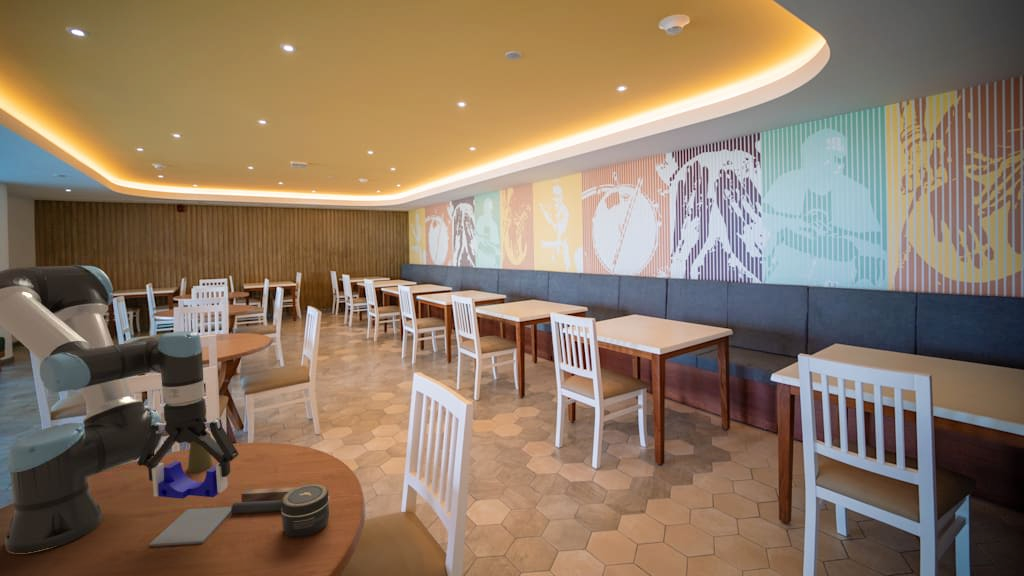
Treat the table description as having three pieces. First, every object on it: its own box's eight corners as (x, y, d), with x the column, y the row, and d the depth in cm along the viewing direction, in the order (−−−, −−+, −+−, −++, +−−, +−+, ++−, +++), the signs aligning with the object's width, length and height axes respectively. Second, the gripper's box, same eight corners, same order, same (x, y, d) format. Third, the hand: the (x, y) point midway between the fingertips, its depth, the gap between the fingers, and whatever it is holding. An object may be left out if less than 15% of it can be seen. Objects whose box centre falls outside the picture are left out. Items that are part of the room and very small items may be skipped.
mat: (149, 546, 95) (148, 544, 95) (187, 511, 108) (187, 509, 108) (202, 543, 96) (202, 541, 96) (235, 508, 109) (234, 506, 109)
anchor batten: (241, 503, 111) (241, 493, 111) (245, 499, 113) (245, 489, 113) (299, 500, 112) (298, 490, 112) (302, 496, 114) (301, 486, 114)
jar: (285, 518, 105) (283, 487, 104) (330, 509, 108) (329, 479, 108) (279, 544, 95) (277, 511, 95) (329, 533, 99) (327, 501, 98)
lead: (236, 510, 109) (231, 515, 106) (236, 500, 109) (231, 505, 106) (295, 507, 110) (291, 512, 108) (295, 497, 110) (291, 502, 108)
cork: (216, 465, 131) (214, 430, 130) (193, 474, 126) (190, 437, 125) (206, 460, 134) (204, 425, 133) (183, 469, 129) (181, 432, 128)
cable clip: (158, 496, 99) (157, 470, 99) (175, 486, 104) (175, 461, 103) (207, 501, 98) (207, 475, 98) (223, 490, 103) (222, 465, 102)
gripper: (111, 409, 94) (120, 504, 96) (233, 404, 96) (240, 497, 98) (138, 397, 102) (145, 486, 103) (251, 393, 104) (256, 479, 106)
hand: (191, 491), depth 101 cm, fingers closed on cable clip, 13 cm apart
